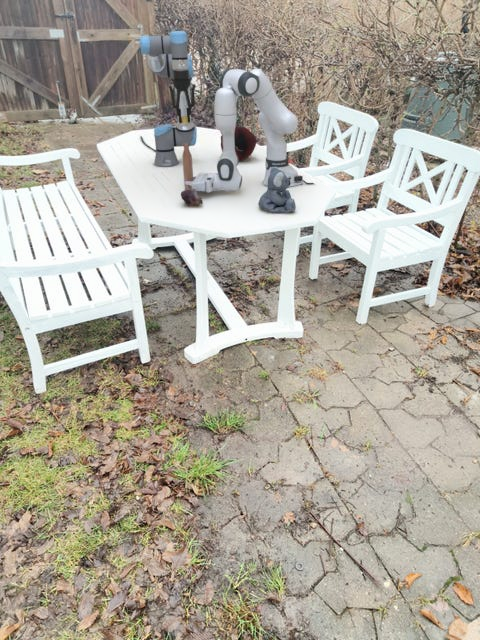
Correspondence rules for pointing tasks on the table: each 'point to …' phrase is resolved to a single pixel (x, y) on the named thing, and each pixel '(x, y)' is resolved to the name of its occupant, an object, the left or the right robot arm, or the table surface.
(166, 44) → the left robot arm
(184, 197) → the rock
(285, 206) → the koala plush
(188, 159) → the bottle
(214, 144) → the table surface
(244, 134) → the decorative skull
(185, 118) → the cap
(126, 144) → the table surface
